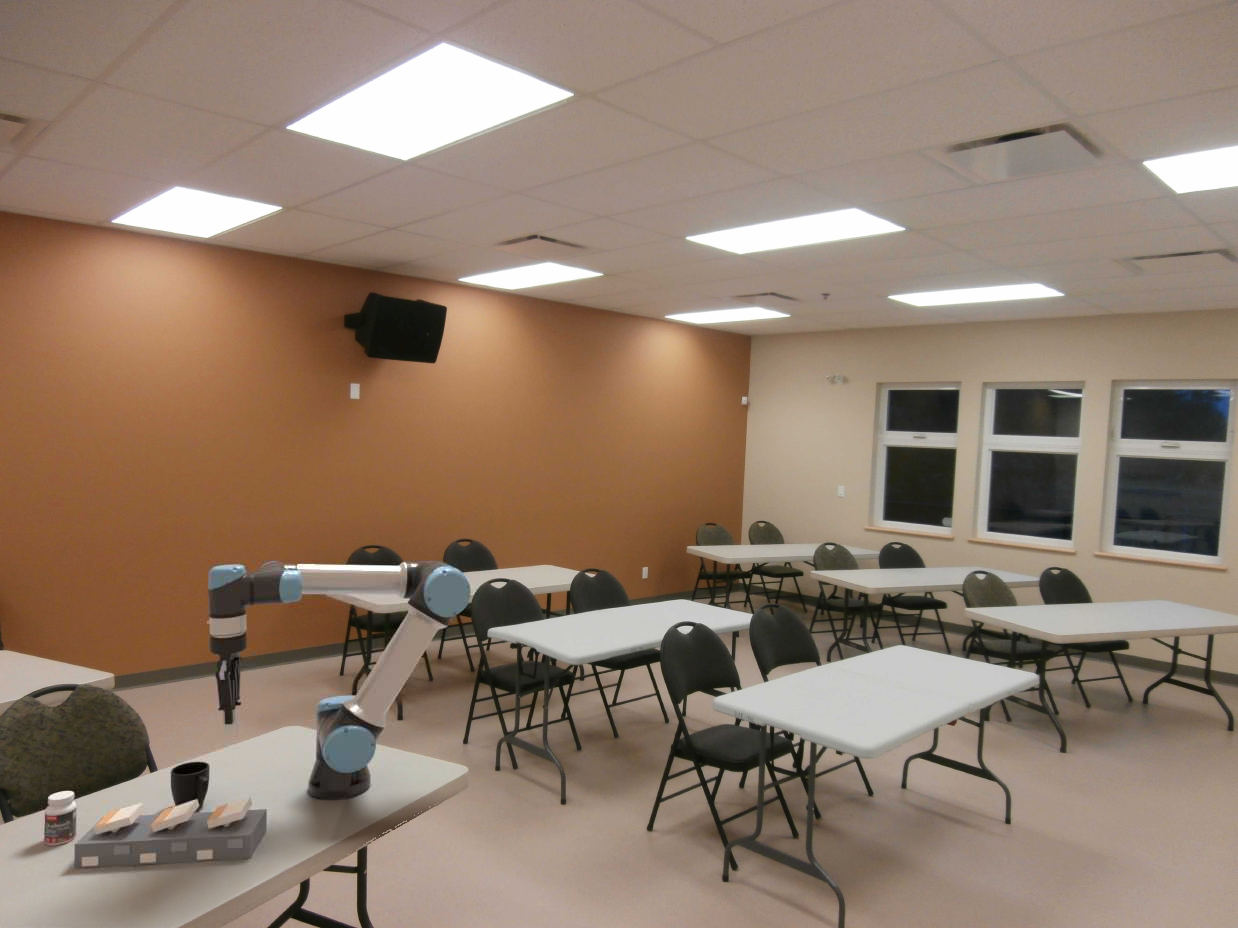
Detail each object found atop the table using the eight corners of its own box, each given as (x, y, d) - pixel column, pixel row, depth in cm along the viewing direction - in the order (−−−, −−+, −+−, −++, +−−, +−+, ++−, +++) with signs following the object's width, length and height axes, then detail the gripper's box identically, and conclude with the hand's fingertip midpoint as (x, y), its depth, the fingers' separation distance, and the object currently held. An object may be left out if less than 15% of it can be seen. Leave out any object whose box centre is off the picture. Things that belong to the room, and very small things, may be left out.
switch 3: (253, 807, 175) (250, 796, 175) (243, 821, 168) (240, 810, 168) (220, 816, 174) (217, 806, 174) (209, 831, 167) (206, 820, 167)
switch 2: (200, 808, 173) (196, 798, 173) (188, 823, 166) (184, 812, 166) (168, 820, 172) (164, 809, 172) (154, 835, 165) (150, 824, 165)
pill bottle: (41, 848, 168) (42, 802, 168) (46, 836, 173) (47, 792, 173) (74, 842, 171) (74, 797, 171) (78, 831, 176) (78, 787, 176)
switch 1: (146, 812, 172) (143, 801, 171) (132, 827, 165) (129, 816, 164) (112, 822, 170) (109, 811, 170) (96, 837, 164) (93, 826, 163)
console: (266, 830, 178) (266, 806, 178) (250, 858, 166) (250, 832, 166) (102, 839, 172) (103, 814, 172) (73, 869, 160) (74, 842, 160)
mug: (185, 823, 181) (186, 782, 180) (164, 807, 188) (164, 768, 188) (222, 811, 187) (222, 771, 187) (200, 796, 195) (200, 758, 194)
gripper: (218, 627, 183) (220, 727, 184) (201, 641, 170) (204, 748, 171) (252, 625, 185) (255, 724, 186) (238, 639, 172) (241, 745, 173)
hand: (230, 736), depth 178 cm, fingers closed
